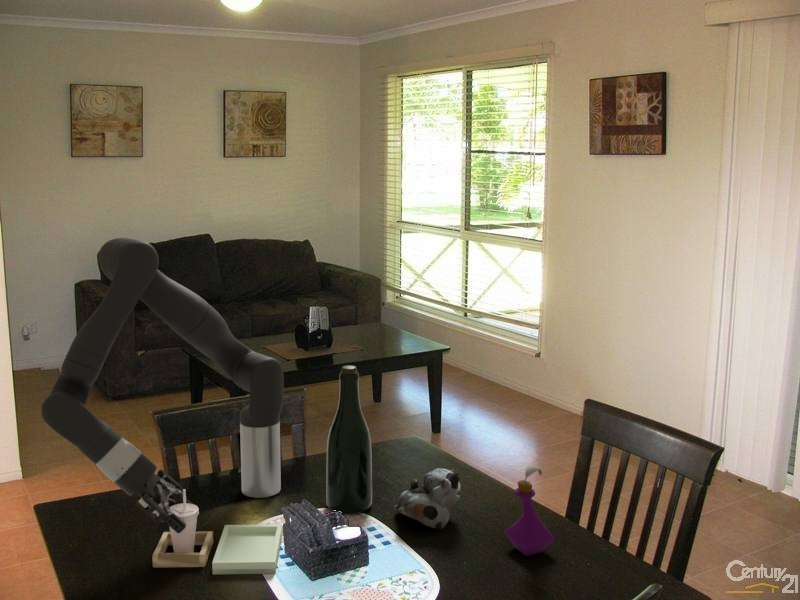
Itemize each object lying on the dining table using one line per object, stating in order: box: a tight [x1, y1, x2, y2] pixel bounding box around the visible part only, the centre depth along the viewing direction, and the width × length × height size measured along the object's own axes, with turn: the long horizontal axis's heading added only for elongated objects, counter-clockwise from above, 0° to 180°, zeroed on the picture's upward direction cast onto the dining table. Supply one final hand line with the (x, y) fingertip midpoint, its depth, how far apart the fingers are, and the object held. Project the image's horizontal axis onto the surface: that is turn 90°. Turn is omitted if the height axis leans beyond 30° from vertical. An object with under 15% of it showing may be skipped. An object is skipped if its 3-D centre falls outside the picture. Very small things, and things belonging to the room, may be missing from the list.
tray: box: [211, 524, 283, 575], centre depth 167 cm, size 16×12×2 cm
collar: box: [152, 530, 214, 568], centre depth 167 cm, size 10×10×2 cm
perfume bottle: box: [503, 464, 556, 557], centre depth 169 cm, size 8×8×18 cm
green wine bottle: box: [325, 364, 373, 515], centre depth 187 cm, size 10×10×33 cm
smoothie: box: [168, 488, 200, 553], centre depth 166 cm, size 6×6×14 cm
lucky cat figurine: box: [394, 467, 462, 531], centre depth 183 cm, size 15×12×14 cm
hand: (187, 519), depth 166 cm, fingers open, 8 cm apart
